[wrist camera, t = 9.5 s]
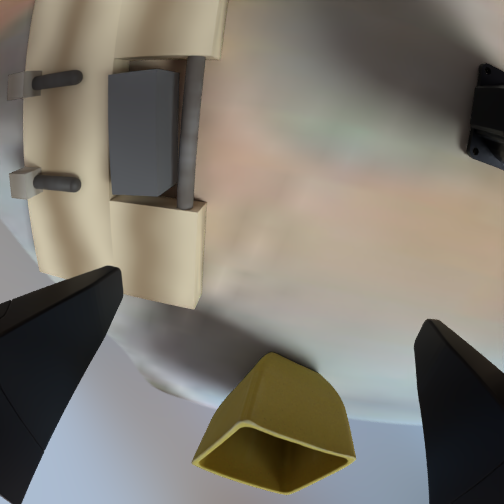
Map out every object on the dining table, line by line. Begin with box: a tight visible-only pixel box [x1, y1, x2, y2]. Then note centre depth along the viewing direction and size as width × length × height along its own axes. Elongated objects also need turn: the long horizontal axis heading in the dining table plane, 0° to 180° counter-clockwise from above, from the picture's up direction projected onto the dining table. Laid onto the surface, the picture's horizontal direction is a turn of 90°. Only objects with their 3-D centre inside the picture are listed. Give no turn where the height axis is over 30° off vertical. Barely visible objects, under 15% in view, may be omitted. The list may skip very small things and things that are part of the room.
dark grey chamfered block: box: [108, 69, 179, 197], centre depth 17 cm, size 3×7×4 cm, turn 177°
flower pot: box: [192, 352, 356, 495], centre depth 22 cm, size 9×9×9 cm
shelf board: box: [7, 0, 228, 309], centre depth 17 cm, size 14×23×4 cm, turn 173°
